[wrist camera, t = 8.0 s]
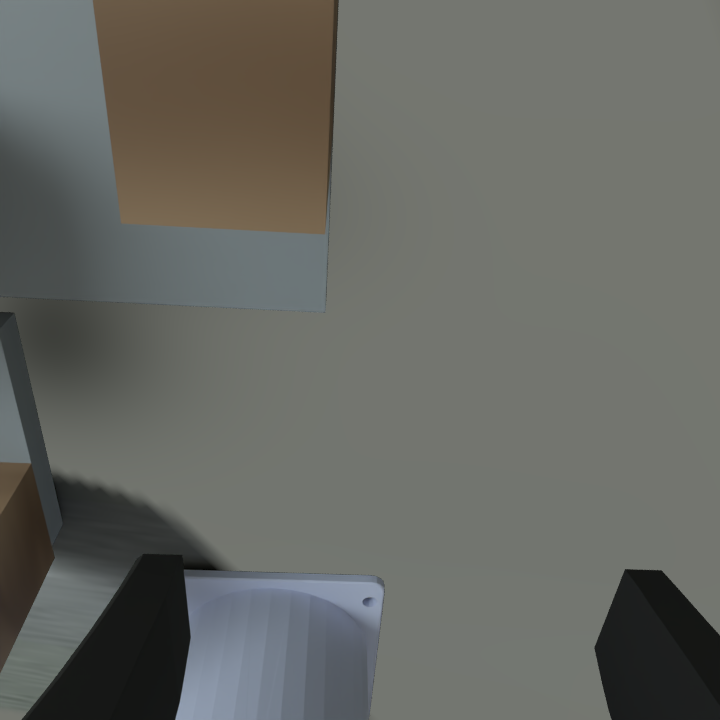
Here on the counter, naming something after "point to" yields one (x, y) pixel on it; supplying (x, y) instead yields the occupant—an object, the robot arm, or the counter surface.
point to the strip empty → (21, 492)
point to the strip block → (167, 151)
